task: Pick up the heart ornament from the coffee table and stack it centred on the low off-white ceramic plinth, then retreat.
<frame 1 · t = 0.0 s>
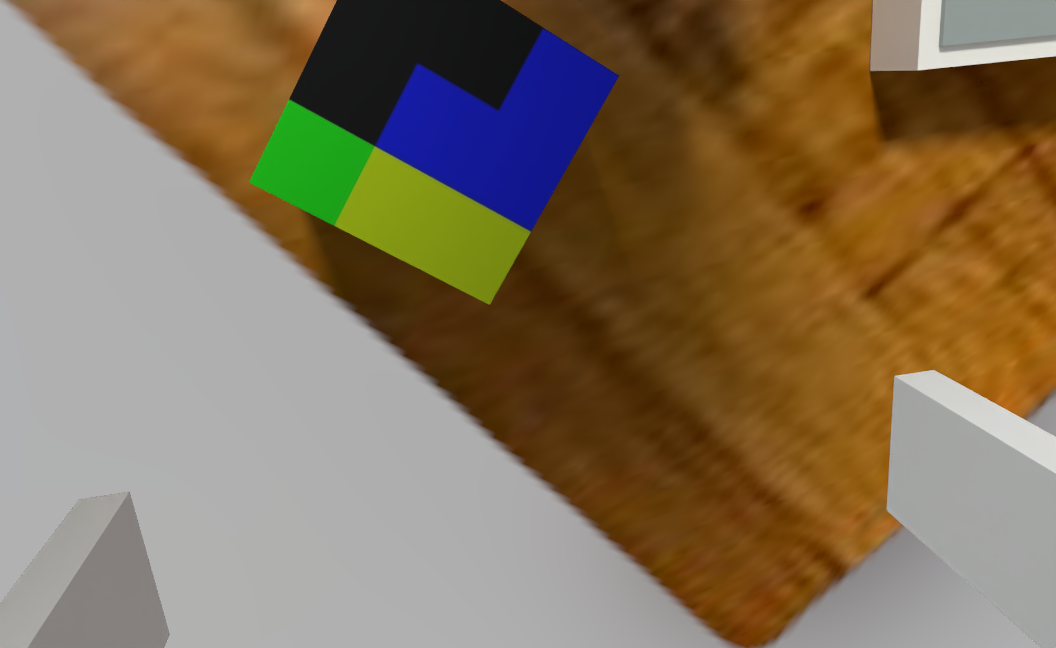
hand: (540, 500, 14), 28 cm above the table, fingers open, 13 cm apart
puzzle toy: (427, 115, 39), on the table
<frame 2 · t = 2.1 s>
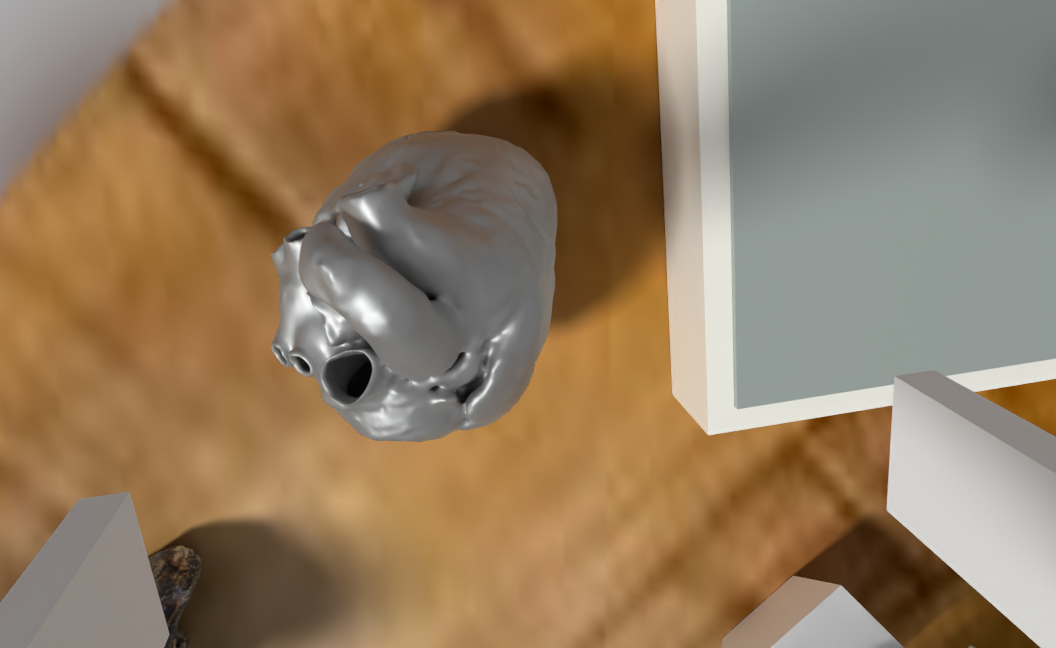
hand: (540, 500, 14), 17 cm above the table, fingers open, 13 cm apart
plinth: (859, 177, 31), on the table
figurine: (783, 628, 37), on the table
statue: (110, 638, 32), on the table
heart: (441, 252, 30), on the table
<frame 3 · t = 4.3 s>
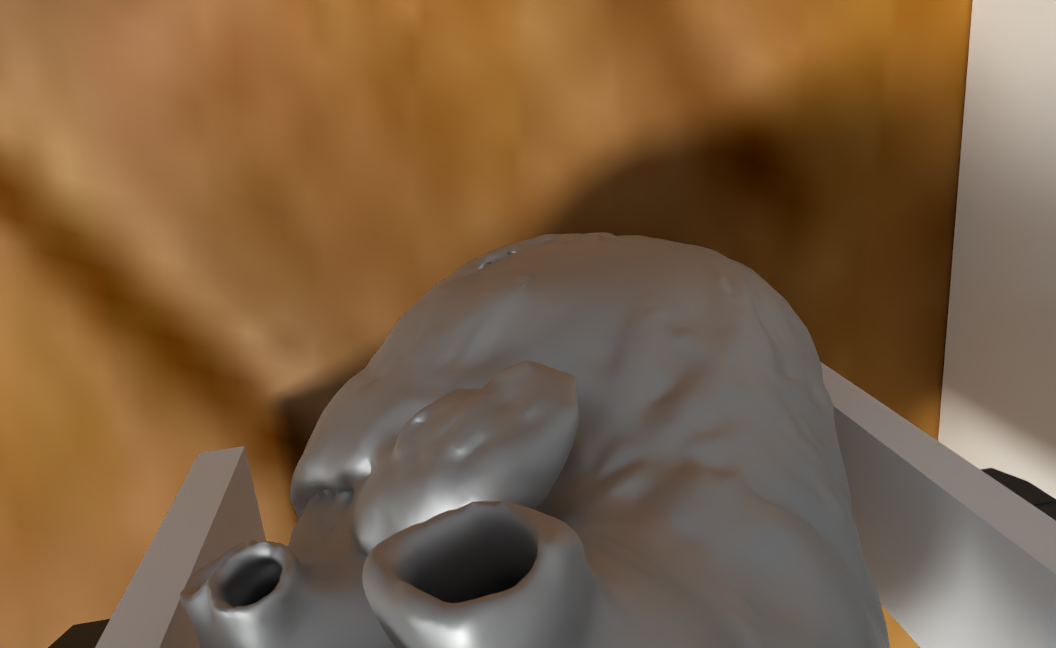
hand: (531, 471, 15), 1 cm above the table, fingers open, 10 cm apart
heart: (542, 430, 16), on the table, touching gripper
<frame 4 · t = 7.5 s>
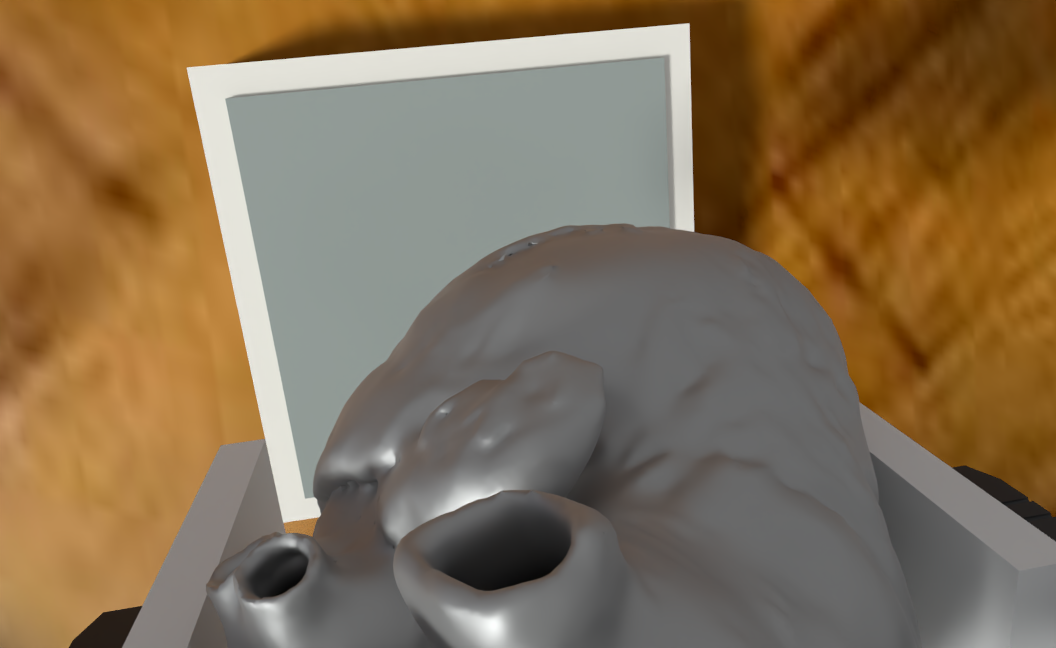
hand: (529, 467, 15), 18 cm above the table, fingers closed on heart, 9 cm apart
plinth: (465, 261, 31), on the table
heart: (561, 424, 16), point 16 cm above the table, touching gripper
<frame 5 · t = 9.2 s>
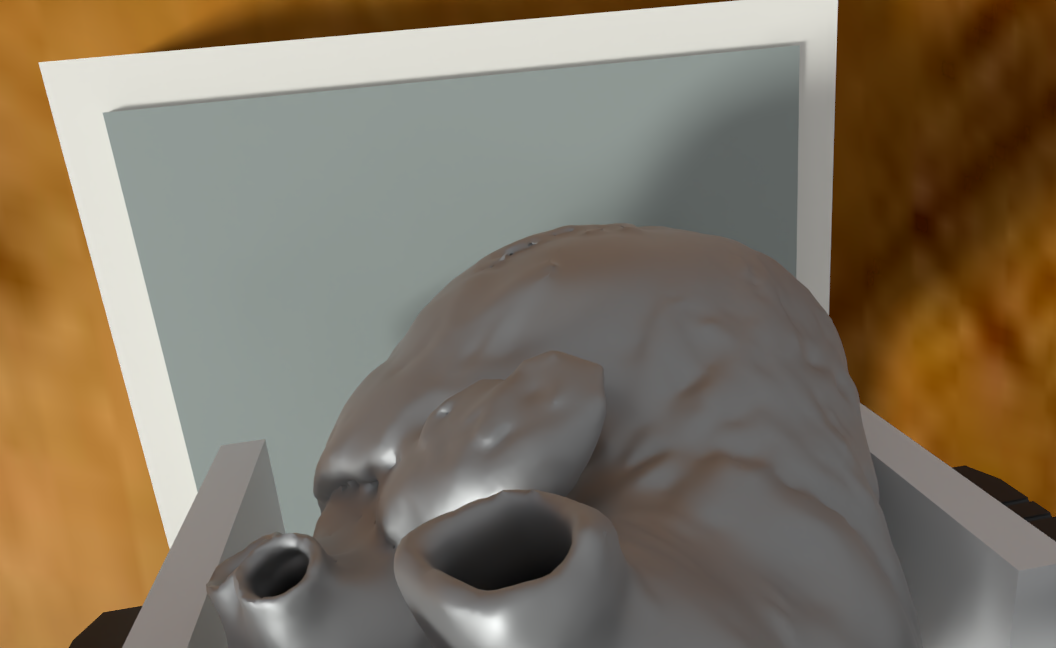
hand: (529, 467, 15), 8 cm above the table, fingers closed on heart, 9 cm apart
plinth: (485, 339, 22), on the table
heart: (561, 424, 16), point 7 cm above the table, touching gripper
when the fingers open (6 cm above the table, at t = 10.4 s): heart drops 1 cm, resting on plinth.
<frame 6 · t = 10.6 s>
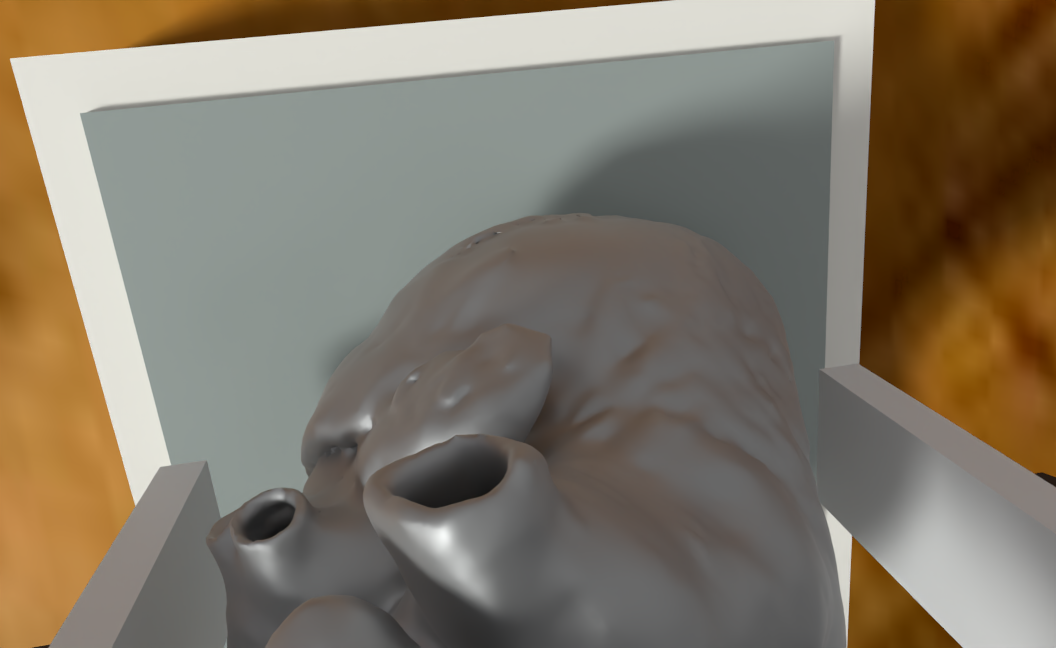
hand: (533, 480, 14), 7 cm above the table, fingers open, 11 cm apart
plinth: (492, 352, 21), on the table
heart: (535, 404, 17), point 4 cm above the table, touching plinth
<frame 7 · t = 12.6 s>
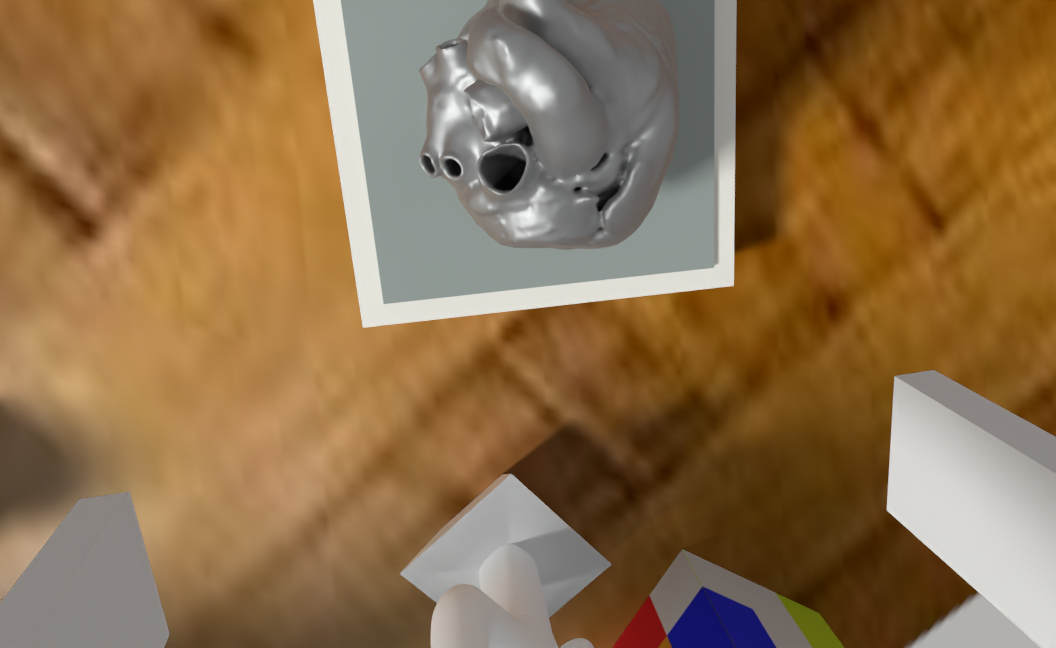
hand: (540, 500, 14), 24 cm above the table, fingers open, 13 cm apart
plinth: (526, 106, 35), on the table
figurine: (499, 524, 41), on the table
puzzle toy: (702, 645, 46), on the table
heart: (552, 106, 31), point 4 cm above the table, touching plinth
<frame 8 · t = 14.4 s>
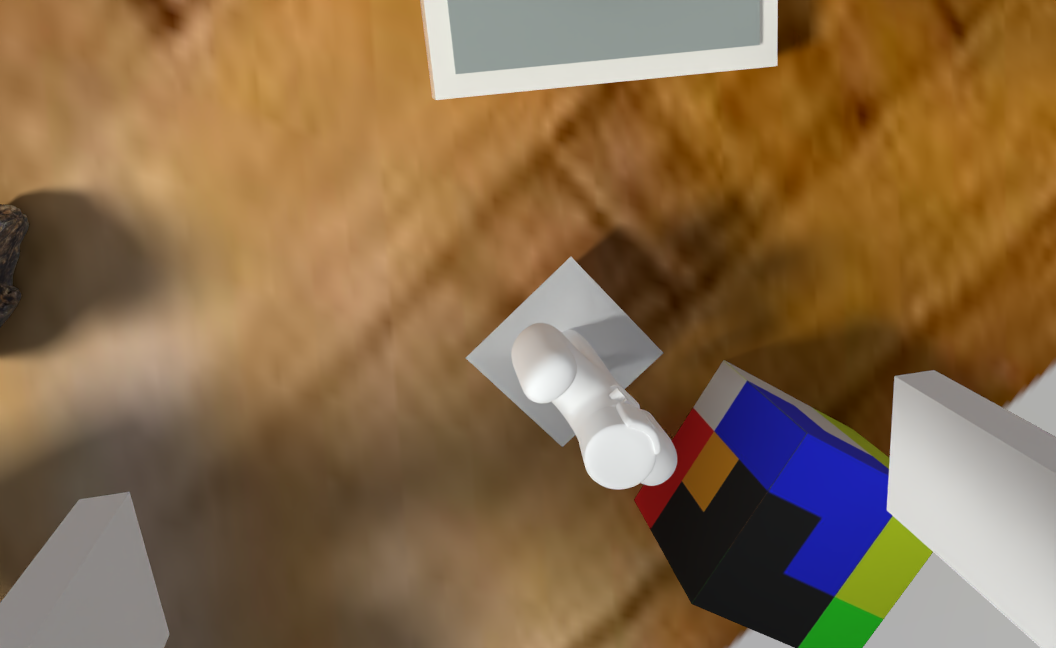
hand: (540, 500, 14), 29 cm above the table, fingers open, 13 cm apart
figurine: (552, 332, 44), on the table
puzzle toy: (742, 462, 48), on the table
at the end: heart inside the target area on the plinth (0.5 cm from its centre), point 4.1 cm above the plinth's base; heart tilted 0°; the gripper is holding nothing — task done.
